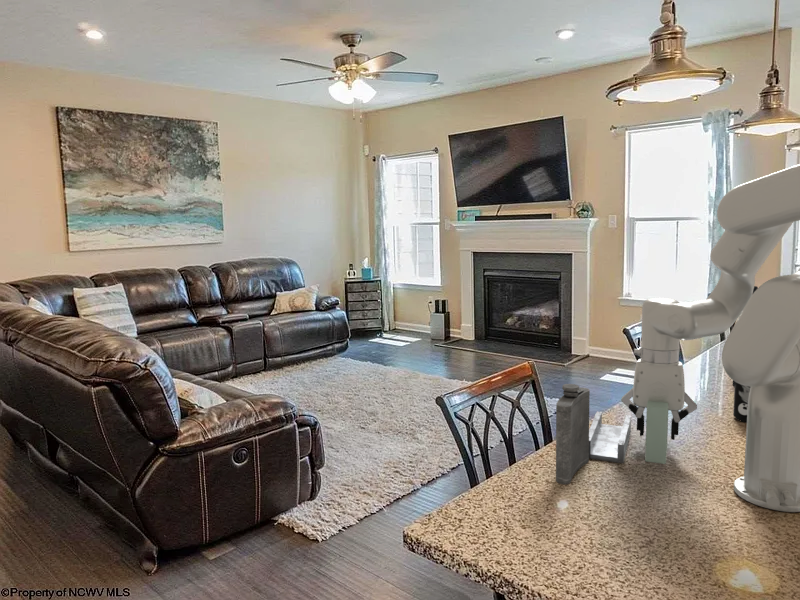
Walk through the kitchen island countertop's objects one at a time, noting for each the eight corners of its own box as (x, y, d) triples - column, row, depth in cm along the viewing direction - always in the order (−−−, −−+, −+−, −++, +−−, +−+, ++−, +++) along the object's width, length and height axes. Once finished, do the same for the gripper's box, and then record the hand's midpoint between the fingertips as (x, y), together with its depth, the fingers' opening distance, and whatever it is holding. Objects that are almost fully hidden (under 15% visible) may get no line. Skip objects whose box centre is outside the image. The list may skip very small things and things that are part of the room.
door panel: (665, 464, 120) (667, 408, 119) (645, 461, 122) (646, 406, 120) (667, 440, 133) (669, 390, 131) (648, 438, 134) (649, 388, 133)
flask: (549, 481, 114) (550, 393, 111) (573, 456, 125) (574, 376, 123) (567, 485, 112) (568, 396, 109) (590, 459, 123) (591, 378, 121)
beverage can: (768, 424, 140) (771, 376, 139) (738, 423, 142) (741, 376, 140) (757, 415, 147) (759, 369, 145) (729, 414, 148) (731, 369, 147)
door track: (623, 463, 121) (623, 445, 120) (584, 457, 124) (584, 440, 124) (630, 431, 139) (631, 415, 138) (596, 427, 142) (596, 411, 142)
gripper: (615, 356, 125) (614, 436, 127) (705, 362, 117) (701, 447, 120) (619, 349, 131) (617, 425, 134) (704, 354, 124) (700, 435, 126)
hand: (657, 434), depth 127 cm, fingers open, 5 cm apart
